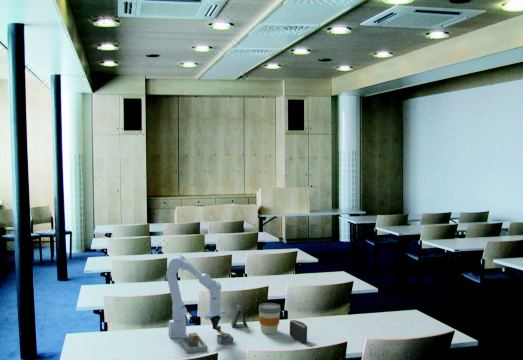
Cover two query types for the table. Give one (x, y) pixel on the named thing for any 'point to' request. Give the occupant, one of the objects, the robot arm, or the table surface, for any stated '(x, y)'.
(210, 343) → the table surface
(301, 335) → the leaning round-cornered charcoal block
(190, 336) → the block
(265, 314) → the reusable coffee cup
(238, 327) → the phone stand
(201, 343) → the tray
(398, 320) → the table surface
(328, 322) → the table surface
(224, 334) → the crank
